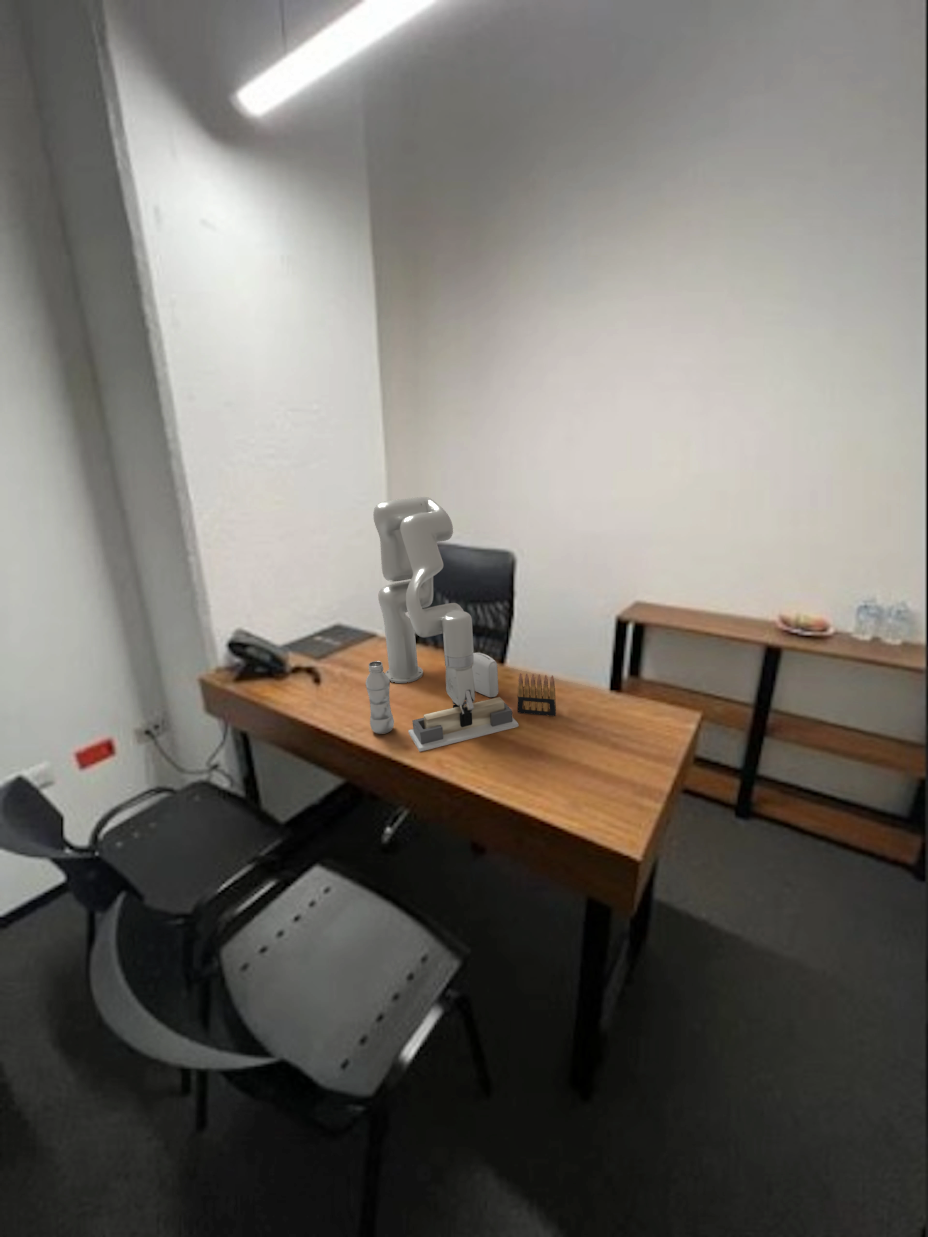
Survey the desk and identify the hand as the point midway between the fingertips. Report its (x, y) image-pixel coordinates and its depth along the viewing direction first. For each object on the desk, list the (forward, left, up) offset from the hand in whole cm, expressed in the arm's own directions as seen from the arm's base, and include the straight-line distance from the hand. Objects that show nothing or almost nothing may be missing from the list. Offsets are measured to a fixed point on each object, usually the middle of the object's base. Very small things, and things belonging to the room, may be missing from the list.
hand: (463, 720), depth 152 cm
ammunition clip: (+1, +22, -3) cm, 22 cm away
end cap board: (0, 0, -3) cm, 3 cm away
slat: (0, +1, -2) cm, 2 cm away
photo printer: (-18, +14, -3) cm, 23 cm away
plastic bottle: (-9, -20, -3) cm, 22 cm away
